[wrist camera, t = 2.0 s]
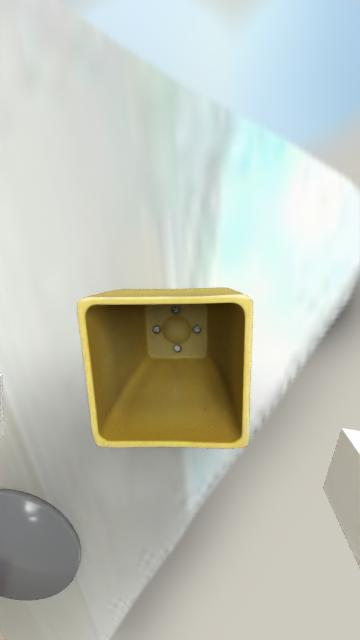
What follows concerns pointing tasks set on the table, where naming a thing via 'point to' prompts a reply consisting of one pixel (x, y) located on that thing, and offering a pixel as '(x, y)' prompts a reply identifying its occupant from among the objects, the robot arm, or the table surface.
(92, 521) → the table surface
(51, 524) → the disc
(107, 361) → the flower pot
